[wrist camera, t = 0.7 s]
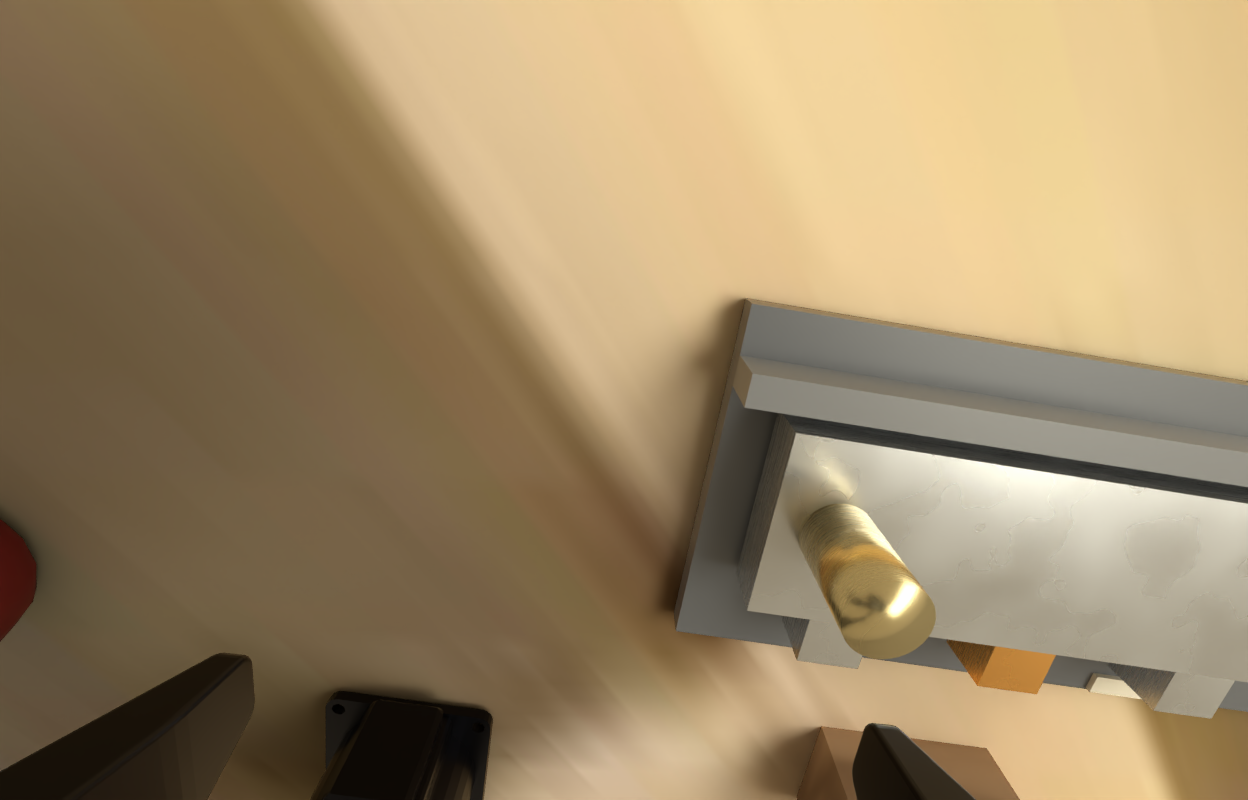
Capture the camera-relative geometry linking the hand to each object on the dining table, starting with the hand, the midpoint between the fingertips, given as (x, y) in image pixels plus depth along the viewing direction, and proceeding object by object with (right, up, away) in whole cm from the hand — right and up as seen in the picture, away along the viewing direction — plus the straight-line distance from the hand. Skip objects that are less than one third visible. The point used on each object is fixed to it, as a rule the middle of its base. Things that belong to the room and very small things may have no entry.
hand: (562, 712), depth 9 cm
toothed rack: (+14, -1, +11) cm, 18 cm away
